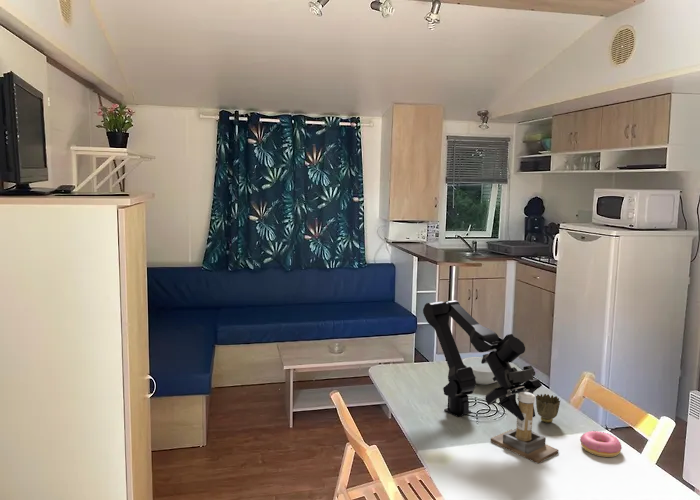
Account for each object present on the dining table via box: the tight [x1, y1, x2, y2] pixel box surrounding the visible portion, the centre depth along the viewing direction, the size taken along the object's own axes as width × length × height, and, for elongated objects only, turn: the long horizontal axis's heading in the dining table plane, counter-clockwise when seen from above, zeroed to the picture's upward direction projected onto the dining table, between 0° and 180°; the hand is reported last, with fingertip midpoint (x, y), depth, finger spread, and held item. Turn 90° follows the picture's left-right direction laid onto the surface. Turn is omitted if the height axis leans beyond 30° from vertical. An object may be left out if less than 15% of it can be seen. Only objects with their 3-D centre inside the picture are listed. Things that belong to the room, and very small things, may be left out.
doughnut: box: [579, 430, 623, 458], centre depth 156 cm, size 11×11×4 cm
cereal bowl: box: [462, 356, 498, 386], centre depth 210 cm, size 17×17×7 cm
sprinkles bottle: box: [515, 392, 536, 441], centre depth 156 cm, size 5×5×13 cm
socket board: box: [490, 427, 559, 464], centre depth 157 cm, size 16×10×4 cm, turn 37°
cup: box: [535, 393, 561, 424], centre depth 174 cm, size 8×7×8 cm
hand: (528, 418), depth 155 cm, fingers closed on sprinkles bottle, 4 cm apart
